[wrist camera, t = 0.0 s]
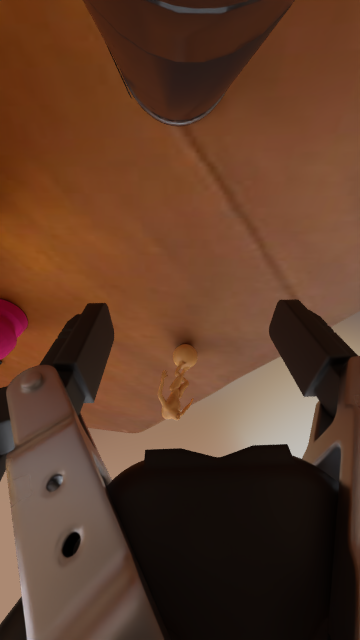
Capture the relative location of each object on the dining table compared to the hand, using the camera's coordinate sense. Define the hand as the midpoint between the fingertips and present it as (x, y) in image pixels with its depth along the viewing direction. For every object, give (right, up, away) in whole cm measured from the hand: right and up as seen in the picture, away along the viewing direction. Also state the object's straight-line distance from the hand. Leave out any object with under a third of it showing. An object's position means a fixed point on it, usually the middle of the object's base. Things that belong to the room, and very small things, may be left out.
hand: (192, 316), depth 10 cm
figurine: (-1, -5, +26) cm, 26 cm away
